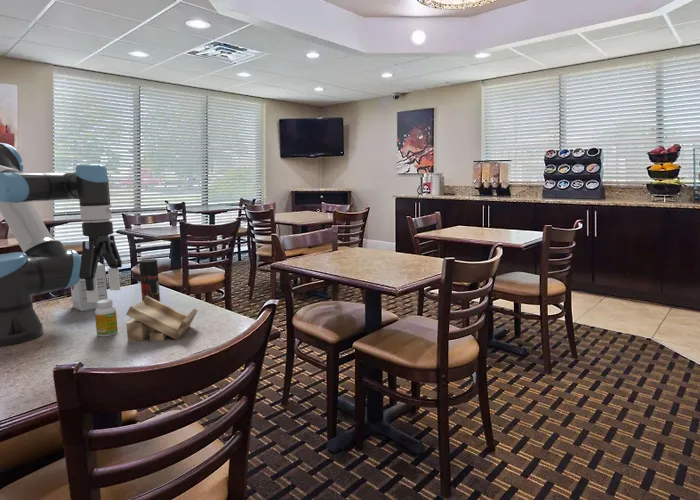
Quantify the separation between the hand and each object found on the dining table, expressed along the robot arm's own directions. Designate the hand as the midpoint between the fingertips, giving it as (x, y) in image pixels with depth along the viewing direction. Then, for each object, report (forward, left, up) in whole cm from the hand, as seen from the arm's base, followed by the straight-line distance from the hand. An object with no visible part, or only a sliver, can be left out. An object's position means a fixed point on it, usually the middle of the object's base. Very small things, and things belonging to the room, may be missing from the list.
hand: (104, 295), depth 133 cm
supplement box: (-19, +30, -12) cm, 38 cm away
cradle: (+16, -1, -11) cm, 20 cm away
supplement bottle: (0, 0, -12) cm, 12 cm away
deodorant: (0, +35, -12) cm, 37 cm away
